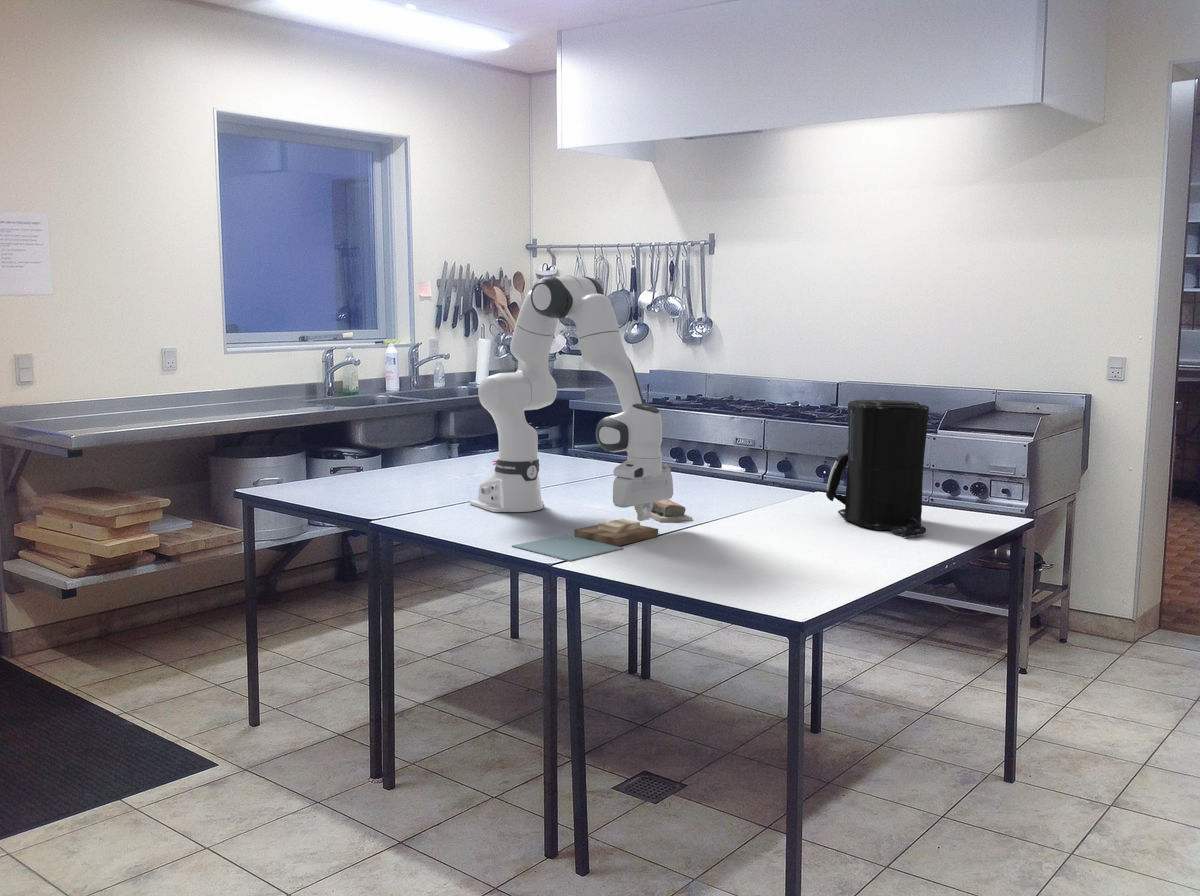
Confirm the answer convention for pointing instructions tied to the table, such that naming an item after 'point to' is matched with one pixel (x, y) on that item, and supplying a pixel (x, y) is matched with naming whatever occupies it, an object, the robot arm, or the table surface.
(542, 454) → the table surface
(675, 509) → the packaged product
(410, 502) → the table surface
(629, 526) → the birch block
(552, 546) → the rubber mat
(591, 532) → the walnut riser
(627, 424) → the robot arm
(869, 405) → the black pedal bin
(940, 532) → the table surface
